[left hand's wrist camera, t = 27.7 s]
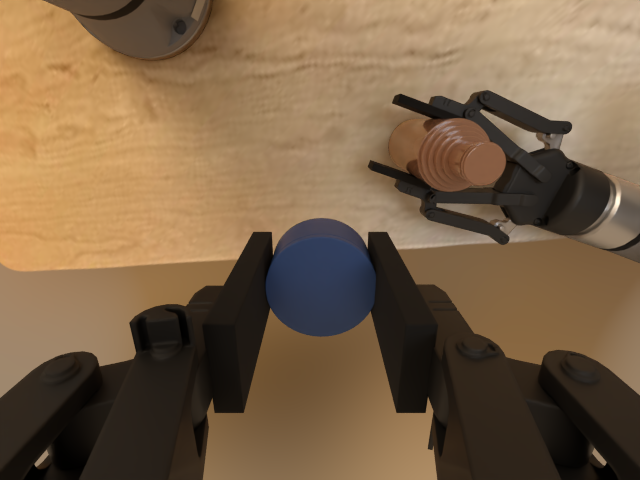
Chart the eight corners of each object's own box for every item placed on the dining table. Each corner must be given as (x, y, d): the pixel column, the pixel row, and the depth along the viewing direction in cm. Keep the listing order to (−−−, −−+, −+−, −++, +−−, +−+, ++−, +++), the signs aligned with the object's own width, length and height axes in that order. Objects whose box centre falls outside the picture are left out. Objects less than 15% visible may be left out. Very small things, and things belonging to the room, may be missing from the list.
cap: (263, 293, 15) (254, 322, 13) (286, 206, 13) (279, 223, 11) (352, 314, 15) (357, 347, 13) (383, 232, 14) (393, 254, 12)
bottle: (403, 109, 40) (472, 101, 22) (448, 132, 41) (549, 142, 22) (379, 157, 42) (423, 186, 24) (422, 178, 42) (496, 221, 24)
